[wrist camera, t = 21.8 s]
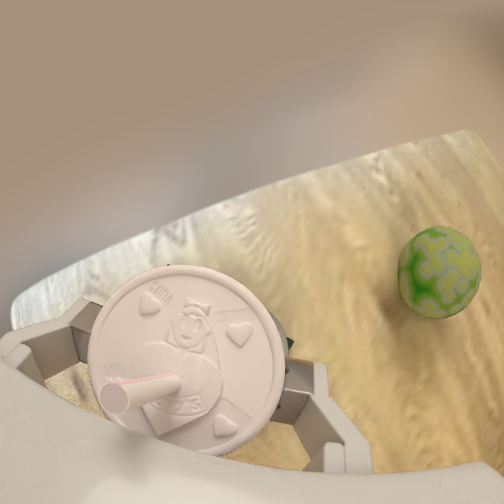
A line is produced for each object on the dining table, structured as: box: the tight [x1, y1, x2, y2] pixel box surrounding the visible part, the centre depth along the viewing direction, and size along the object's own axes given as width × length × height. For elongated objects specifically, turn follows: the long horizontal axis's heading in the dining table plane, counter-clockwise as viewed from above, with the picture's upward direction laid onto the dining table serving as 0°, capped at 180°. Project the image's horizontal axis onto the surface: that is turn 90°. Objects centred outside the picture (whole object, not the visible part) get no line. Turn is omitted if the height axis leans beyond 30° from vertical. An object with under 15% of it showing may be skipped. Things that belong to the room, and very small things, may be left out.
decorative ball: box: [398, 226, 481, 319], centre depth 27 cm, size 10×10×10 cm
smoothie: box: [87, 265, 285, 457], centre depth 11 cm, size 6×6×14 cm
